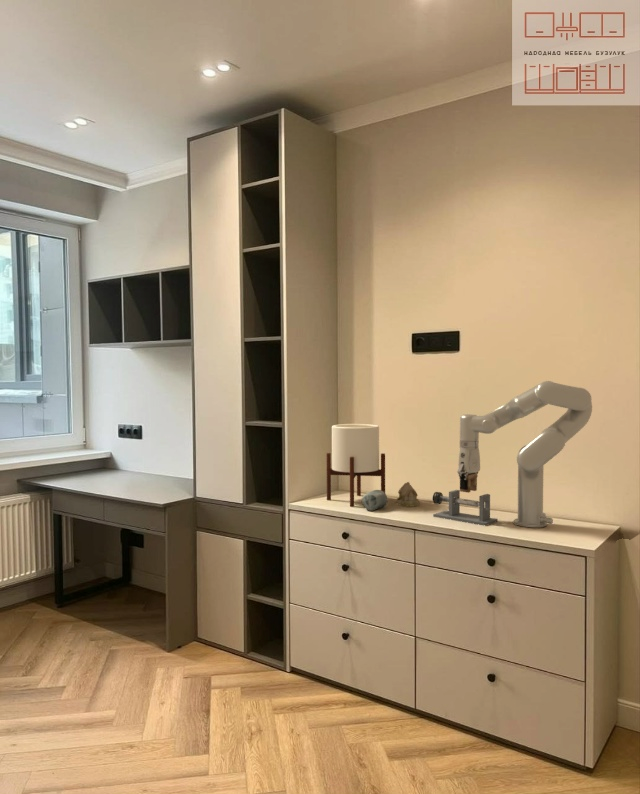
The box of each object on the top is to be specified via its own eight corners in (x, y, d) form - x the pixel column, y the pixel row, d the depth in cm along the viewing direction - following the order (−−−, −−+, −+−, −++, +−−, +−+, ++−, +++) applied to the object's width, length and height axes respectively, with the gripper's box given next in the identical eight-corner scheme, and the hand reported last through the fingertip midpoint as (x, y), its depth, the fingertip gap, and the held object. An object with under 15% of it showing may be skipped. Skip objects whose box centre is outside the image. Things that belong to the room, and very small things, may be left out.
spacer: (476, 490, 255) (476, 473, 255) (468, 492, 250) (468, 475, 250) (468, 489, 258) (468, 472, 258) (459, 491, 253) (459, 474, 253)
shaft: (481, 509, 253) (481, 497, 253) (474, 511, 250) (474, 498, 249) (439, 502, 267) (439, 491, 267) (432, 504, 263) (432, 492, 263)
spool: (376, 505, 267) (371, 484, 271) (360, 513, 272) (355, 492, 276) (395, 508, 276) (389, 487, 281) (378, 515, 282) (373, 495, 286)
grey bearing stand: (497, 521, 251) (497, 494, 251) (485, 525, 244) (485, 497, 243) (446, 512, 268) (446, 487, 267) (433, 516, 260) (433, 490, 260)
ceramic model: (392, 501, 294) (392, 480, 294) (415, 500, 296) (415, 479, 295) (400, 507, 280) (400, 485, 280) (424, 506, 282) (424, 484, 281)
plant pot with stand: (359, 494, 310) (359, 423, 309) (389, 501, 292) (388, 426, 291) (322, 499, 298) (322, 425, 296) (351, 507, 279) (350, 428, 278)
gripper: (466, 447, 244) (465, 492, 245) (487, 443, 257) (487, 486, 258) (449, 445, 250) (449, 489, 250) (471, 442, 262) (471, 484, 263)
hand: (468, 487), depth 254 cm, fingers closed on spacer, 6 cm apart
